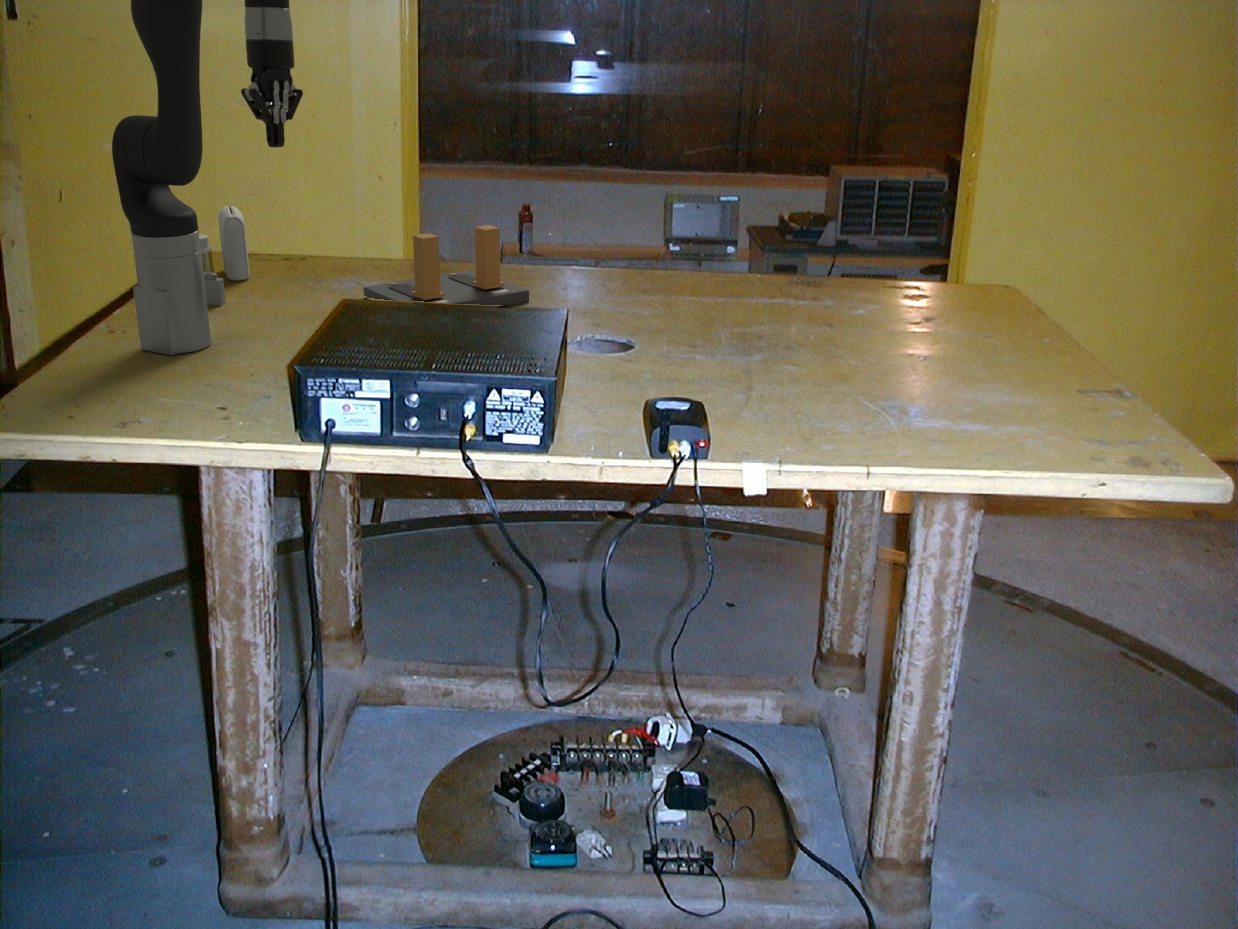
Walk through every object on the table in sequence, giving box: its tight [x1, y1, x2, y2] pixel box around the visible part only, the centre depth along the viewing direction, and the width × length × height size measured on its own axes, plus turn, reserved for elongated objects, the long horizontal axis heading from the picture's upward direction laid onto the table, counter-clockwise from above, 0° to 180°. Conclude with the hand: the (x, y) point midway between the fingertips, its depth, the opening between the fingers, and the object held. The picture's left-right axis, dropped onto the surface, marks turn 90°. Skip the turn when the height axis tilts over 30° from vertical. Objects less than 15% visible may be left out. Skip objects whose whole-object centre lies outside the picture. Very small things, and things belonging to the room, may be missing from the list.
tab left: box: [411, 232, 445, 300], centre depth 201 cm, size 4×4×10 cm
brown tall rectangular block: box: [472, 224, 505, 289], centre depth 208 cm, size 4×4×10 cm
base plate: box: [362, 269, 530, 306], centre depth 209 cm, size 22×18×2 cm
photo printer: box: [217, 205, 251, 281], centre depth 221 cm, size 10×4×12 cm, turn 21°
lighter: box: [203, 272, 226, 307], centre depth 203 cm, size 7×2×8 cm, turn 83°
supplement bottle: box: [199, 233, 215, 273], centre depth 216 cm, size 5×5×8 cm
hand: (276, 146), depth 205 cm, fingers closed
